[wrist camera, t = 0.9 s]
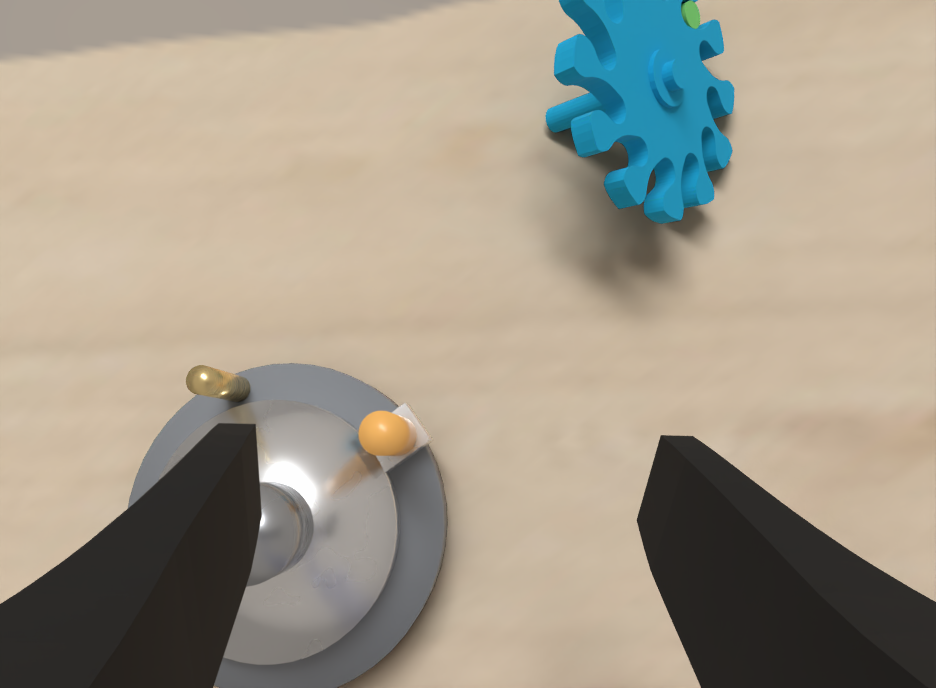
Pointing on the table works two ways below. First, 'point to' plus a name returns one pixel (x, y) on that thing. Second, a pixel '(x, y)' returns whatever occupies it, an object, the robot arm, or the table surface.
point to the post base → (419, 500)
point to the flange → (316, 523)
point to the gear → (646, 99)
